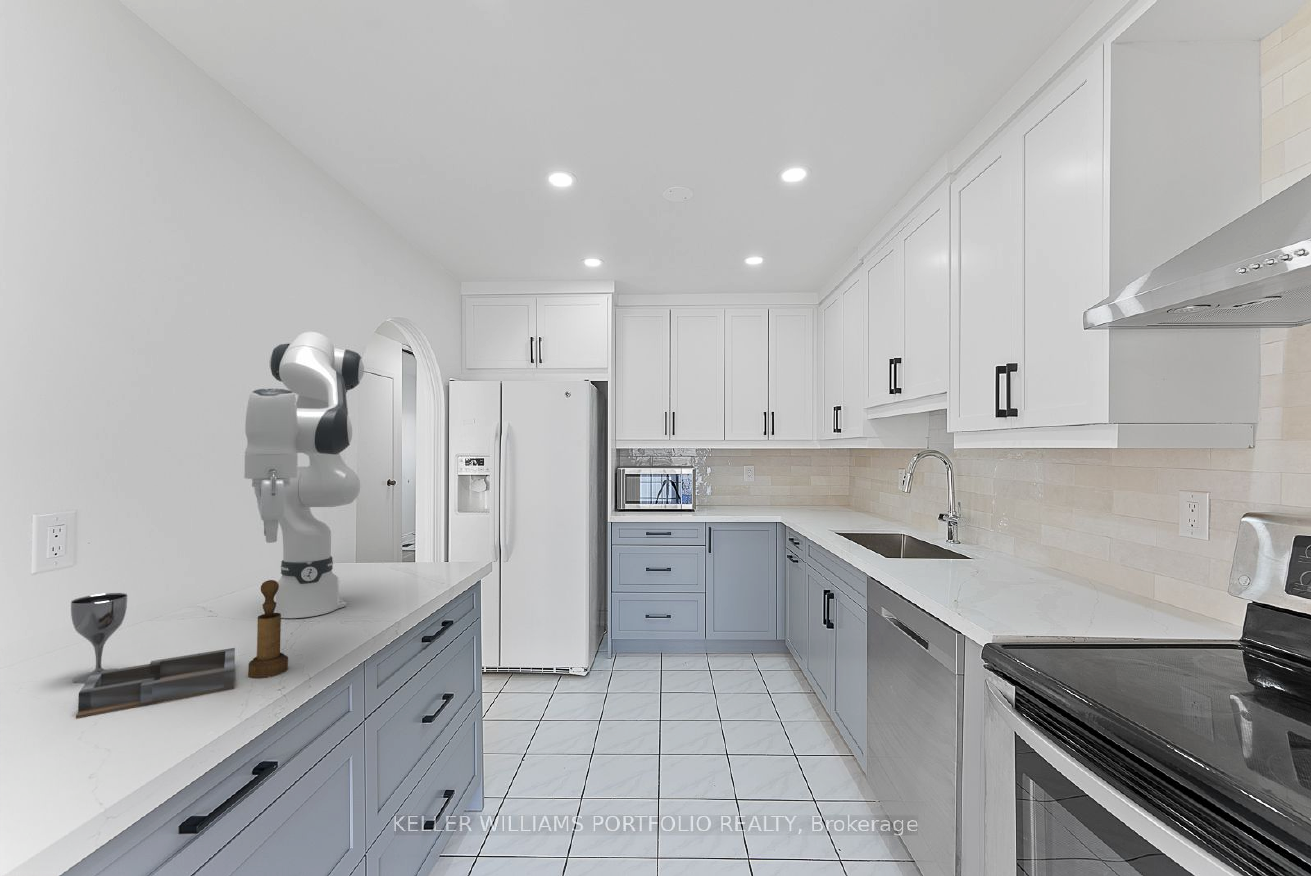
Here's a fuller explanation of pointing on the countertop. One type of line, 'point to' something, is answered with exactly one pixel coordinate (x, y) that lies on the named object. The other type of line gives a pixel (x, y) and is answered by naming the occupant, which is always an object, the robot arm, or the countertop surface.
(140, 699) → the tray
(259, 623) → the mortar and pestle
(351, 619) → the countertop surface
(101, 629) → the wine glass
